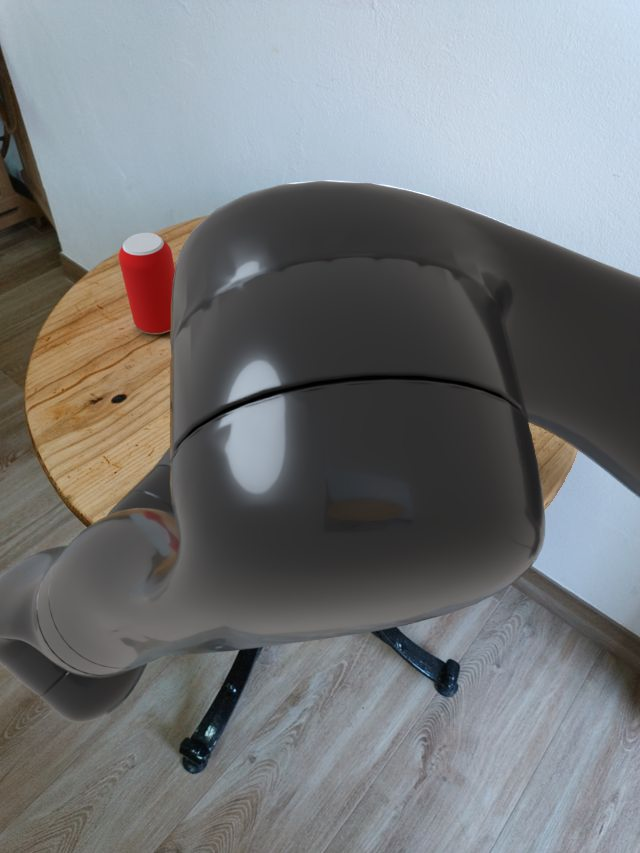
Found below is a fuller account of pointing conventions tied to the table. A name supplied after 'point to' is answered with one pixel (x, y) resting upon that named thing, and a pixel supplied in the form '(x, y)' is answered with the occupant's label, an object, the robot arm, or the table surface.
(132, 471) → the table surface
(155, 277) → the beverage can
